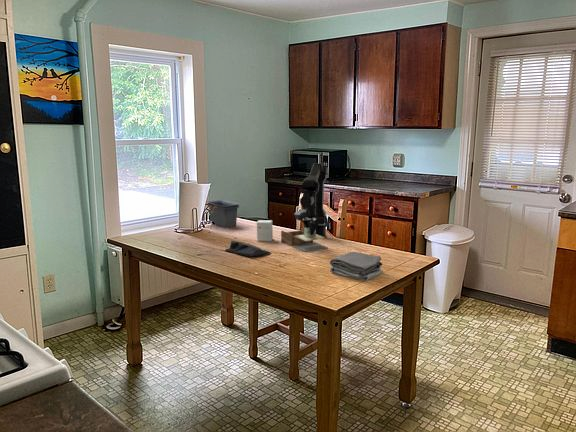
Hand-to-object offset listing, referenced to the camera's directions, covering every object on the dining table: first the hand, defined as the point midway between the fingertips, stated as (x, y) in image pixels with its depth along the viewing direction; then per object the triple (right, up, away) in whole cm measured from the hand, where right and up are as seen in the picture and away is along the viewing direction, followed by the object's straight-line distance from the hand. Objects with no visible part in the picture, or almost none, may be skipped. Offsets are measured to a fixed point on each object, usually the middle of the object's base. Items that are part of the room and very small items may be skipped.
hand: (309, 234), depth 235 cm
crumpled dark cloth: (-31, -9, -6) cm, 33 cm away
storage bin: (-53, +3, +56) cm, 77 cm away
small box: (-24, -4, +18) cm, 30 cm away
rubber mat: (0, -7, +1) cm, 7 cm away
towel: (+18, -15, -40) cm, 46 cm away
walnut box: (-6, -5, +12) cm, 14 cm away
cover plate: (0, -2, 0) cm, 2 cm away
